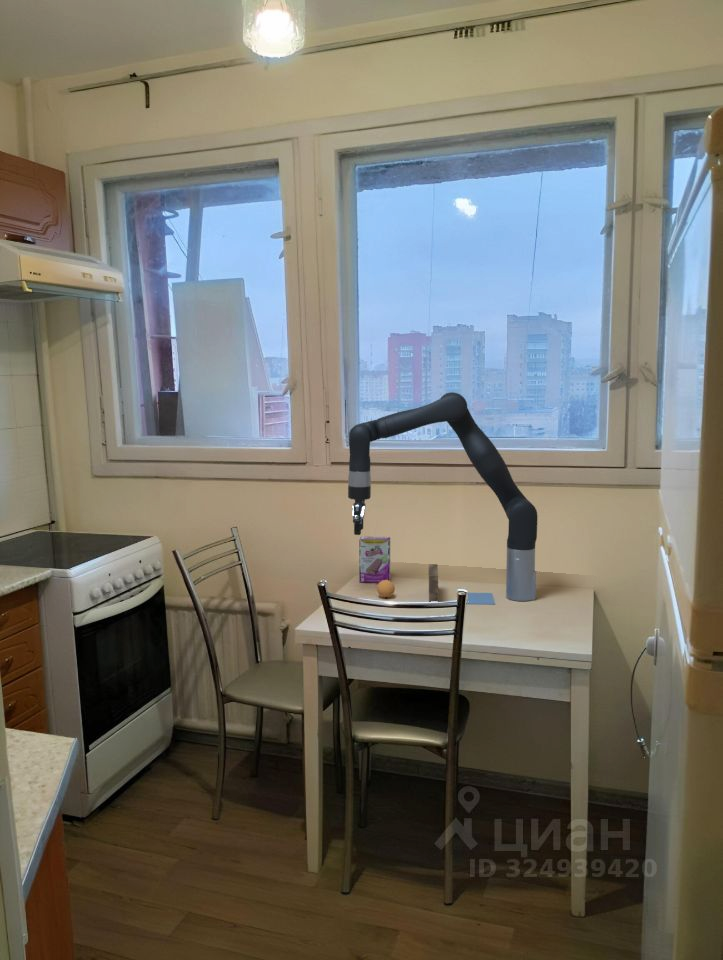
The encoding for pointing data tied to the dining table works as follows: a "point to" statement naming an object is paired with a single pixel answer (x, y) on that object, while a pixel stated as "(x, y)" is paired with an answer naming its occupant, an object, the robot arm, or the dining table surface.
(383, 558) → the candy bar box
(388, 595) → the ball
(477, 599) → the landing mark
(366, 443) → the robot arm
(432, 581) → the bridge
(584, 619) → the dining table surface
